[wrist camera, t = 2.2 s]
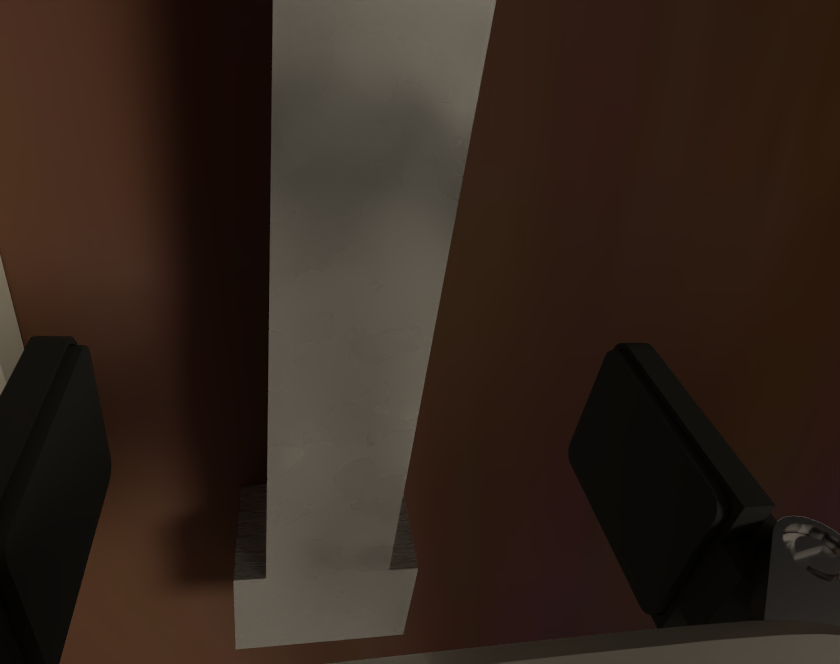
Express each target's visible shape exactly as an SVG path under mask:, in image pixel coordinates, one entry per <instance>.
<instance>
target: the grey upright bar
mask: <svg viewBox="0 0 840 664" xmlns="http://www.w3.org/2000/svg"><path fill="white" fill-rule="evenodd" d="M495 3H496V0H273V33H272V116H271V200H270V284H269V367H268V451H267V484H262V485H241V488H240V502H239V515H238V528H237V541H236V554H235V567H234V609H235V637H236V649H245V648H256V647H267V646H278V645H289V644H301V643H312V642H323V641H334V640H345V639H356V638H367V637H378V636H389V635H401V634H403V632H404V628H405V623H406V619H407V614H408V610H409V606H410V601H411V597H412V593H413V588H414V584H415V580H416V575H417V571H418V566H417V561H416V555H415V550H414V545H413V540H412V535H411V530H410V525H409V520H408V514H407V509H406V504H405V499H404V494H403V493H404V488H405V482H406V477H407V472H408V466H409V461H410V456H411V450H412V445H413V440H414V434H415V429H416V424H417V418H418V413H419V408H420V402H421V397H422V392H423V386H424V381H425V376H426V370H427V365H428V360H429V355H430V349H431V344H432V339H433V333H434V328H435V323H436V317H437V312H438V307H439V301H440V296H441V291H442V285H443V280H444V275H445V269H446V264H447V259H448V253H449V248H450V243H451V237H452V232H453V227H454V222H455V216H456V211H457V206H458V200H459V195H460V190H461V184H462V179H463V174H464V168H465V163H466V158H467V152H468V147H469V142H470V136H471V131H472V126H473V120H474V115H475V110H476V104H477V99H478V94H479V89H480V83H481V78H482V73H483V67H484V62H485V57H486V51H487V46H488V41H489V35H490V30H491V25H492V19H493V14H494V9H495Z"/></svg>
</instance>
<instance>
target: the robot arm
mask: <svg viewBox="0 0 840 664" xmlns="http://www.w3.org/2000/svg"><path fill="white" fill-rule="evenodd" d="M568 452H569V460H570V463H571V465H572V468H573V470H574V472H575V474H576V476H577V478H578V480H579V482H580V484H581V486H582V488H583V490H584V492H585V494H586V496H587V498H588V500H589V502H590V504H591V507H592V509H593V511H594V513H595V515H596V517H597V519H598V521H599V523H600V525H601V527H602V529H603V531H604V533H605V535H606V537H607V539H608V541H609V544H610V546H611V548H612V550H613V552H614V554H615V556H616V558H617V560H618V562H619V564H620V566H621V568H622V570H623V572H624V574H625V576H626V578H627V580H628V583H629V585H630V587H631V589H632V591H633V593H634V595H635V597H636V599H637V601H638V603H639V605H640V607H641V608H642V610H643V611H644V612H645V613H646V614H649V615H651V617H652V619H653V621H654V623H655V625H656V627H657V629H650V630H640V631H630V632H620V633H611V634H601V635H591V636H581V637H571V638H561V639H552V640H542V641H533V642H523V643H514V644H504V645H495V646H486V647H476V648H467V649H458V650H448V651H439V652H430V653H421V654H411V655H402V656H393V657H384V658H374V659H366V660H357V661H348V662H339V663H330V664H840V534H838V533H837V532H836V531H834V530H833V529H831V528H829V527H827V526H826V525H824V524H822V523H820V522H817V521H815V520H812V519H809V518H806V517H799V516H788V517H783V518H782V519H780V520H779V521H776V520H775V518H774V517H773V516H772V514H771V511H772V510H773V509H774V507H775V504H774V503H773V502H772V500H771V499H770V498H769V497H768V495H767V494H766V493H765V491H764V490H763V489H762V488H761V486H760V485H759V484H758V482H757V481H756V480H755V479H754V477H753V476H752V475H751V473H750V472H749V471H748V469H747V468H746V467H745V466H744V464H743V463H742V462H741V460H740V459H739V458H738V457H737V455H736V454H735V453H734V451H733V450H732V449H731V448H730V446H729V445H728V444H727V442H726V441H725V440H724V439H723V437H722V436H721V435H720V433H719V432H718V431H717V429H716V428H715V427H714V426H713V424H712V423H711V422H710V420H709V419H708V418H707V417H706V415H705V414H704V413H703V411H702V410H701V409H700V408H699V406H698V405H697V404H696V402H695V401H694V400H693V398H692V397H691V396H690V395H689V393H688V392H687V391H686V389H685V388H684V387H683V386H682V384H681V383H680V382H679V380H678V379H677V378H676V377H675V375H674V374H673V373H672V371H671V370H670V369H669V367H668V366H667V365H666V364H665V362H664V361H663V360H662V358H661V357H660V356H659V355H658V353H657V352H656V351H655V349H654V348H653V347H652V346H651V345H650V344H647V343H619V344H617V345H616V346H615V348H614V349H613V350H610V351H609V352H608V353H607V354H606V356H605V358H604V361H603V363H602V366H601V368H600V370H599V373H598V375H597V378H596V380H595V383H594V385H593V388H592V390H591V393H590V395H589V398H588V400H587V403H586V405H585V408H584V410H583V413H582V415H581V418H580V420H579V422H578V425H577V427H576V430H575V432H574V435H573V437H572V440H571V442H570V445H569V451H568ZM110 474H111V459H110V453H109V448H108V443H107V438H106V433H105V428H104V422H103V417H102V412H101V407H100V402H99V397H98V392H97V387H96V382H95V377H94V371H93V366H92V361H91V356H90V352H89V349H88V347H87V346H78V345H77V343H76V341H75V339H74V338H73V337H68V336H34V337H31V339H30V340H29V341H28V343H27V345H26V347H25V349H24V351H23V353H22V355H21V357H20V359H19V361H18V362H17V364H16V366H15V368H14V370H13V372H12V374H11V376H10V378H9V380H8V382H7V383H6V385H5V387H4V389H3V391H2V393H1V395H0V664H59V662H60V659H61V655H62V651H63V648H64V644H65V640H66V637H67V633H68V630H69V626H70V622H71V619H72V615H73V611H74V608H75V604H76V600H77V597H78V593H79V589H80V586H81V582H82V579H83V575H84V571H85V568H86V564H87V560H88V557H89V553H90V549H91V546H92V542H93V539H94V535H95V531H96V528H97V524H98V520H99V517H100V513H101V509H102V506H103V502H104V498H105V495H106V491H107V488H108V484H109V480H110ZM688 625H689V626H688Z"/></svg>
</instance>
